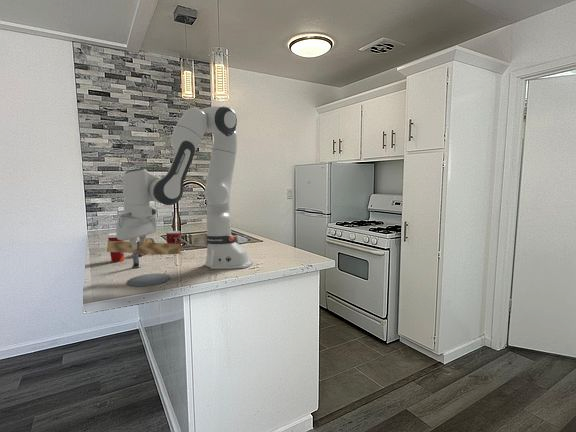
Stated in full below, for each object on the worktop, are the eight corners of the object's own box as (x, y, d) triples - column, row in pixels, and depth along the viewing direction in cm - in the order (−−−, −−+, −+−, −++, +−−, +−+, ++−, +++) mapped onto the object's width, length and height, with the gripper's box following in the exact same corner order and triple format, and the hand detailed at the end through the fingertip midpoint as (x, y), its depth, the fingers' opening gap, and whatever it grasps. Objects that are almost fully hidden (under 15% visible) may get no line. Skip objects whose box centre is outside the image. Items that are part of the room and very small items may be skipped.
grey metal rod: (142, 266, 152) (140, 239, 150) (137, 268, 148) (135, 241, 147) (135, 266, 152) (133, 239, 151) (130, 268, 149) (128, 241, 147)
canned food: (169, 252, 181) (168, 233, 180) (165, 250, 188) (164, 231, 186) (183, 250, 186) (182, 231, 184) (179, 248, 192) (178, 230, 191)
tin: (138, 257, 171) (137, 241, 170) (133, 257, 172) (132, 241, 171) (156, 251, 186) (155, 236, 185) (151, 251, 186) (150, 236, 185)
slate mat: (177, 274, 137) (177, 273, 137) (156, 287, 121) (156, 286, 121) (142, 273, 139) (142, 273, 139) (117, 285, 123) (117, 284, 123)
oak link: (180, 253, 132) (181, 244, 132) (165, 254, 120) (166, 243, 121) (126, 251, 135) (127, 241, 136) (106, 251, 124) (107, 241, 124)
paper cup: (128, 260, 163) (126, 233, 162) (111, 263, 158) (109, 235, 157) (123, 258, 169) (121, 231, 168) (107, 261, 164) (105, 233, 162)
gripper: (127, 214, 111) (128, 254, 113) (159, 210, 131) (160, 243, 133) (110, 214, 112) (112, 253, 113) (144, 209, 132) (145, 243, 134)
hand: (138, 248), depth 123 cm, fingers closed on oak link, 2 cm apart
